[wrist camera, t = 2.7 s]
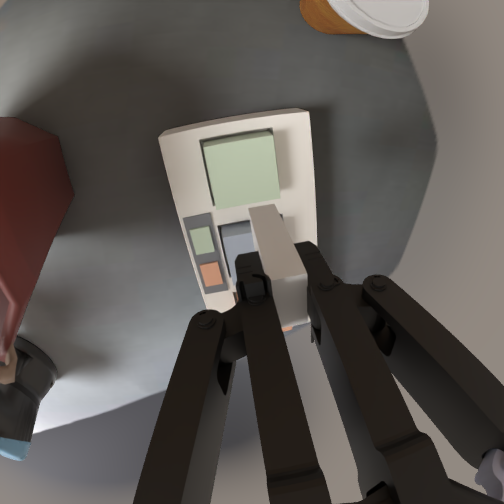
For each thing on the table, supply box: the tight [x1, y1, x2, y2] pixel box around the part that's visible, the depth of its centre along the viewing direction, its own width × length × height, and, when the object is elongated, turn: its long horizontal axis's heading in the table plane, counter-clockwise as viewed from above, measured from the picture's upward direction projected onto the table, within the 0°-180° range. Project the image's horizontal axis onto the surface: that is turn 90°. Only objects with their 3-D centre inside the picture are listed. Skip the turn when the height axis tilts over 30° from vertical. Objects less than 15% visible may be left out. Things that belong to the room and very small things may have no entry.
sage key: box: [203, 131, 280, 210], centre depth 26 cm, size 6×6×2 cm
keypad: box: [158, 108, 317, 322], centre depth 34 cm, size 14×27×5 cm, turn 8°
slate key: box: [222, 221, 255, 286], centre depth 31 cm, size 6×6×2 cm
